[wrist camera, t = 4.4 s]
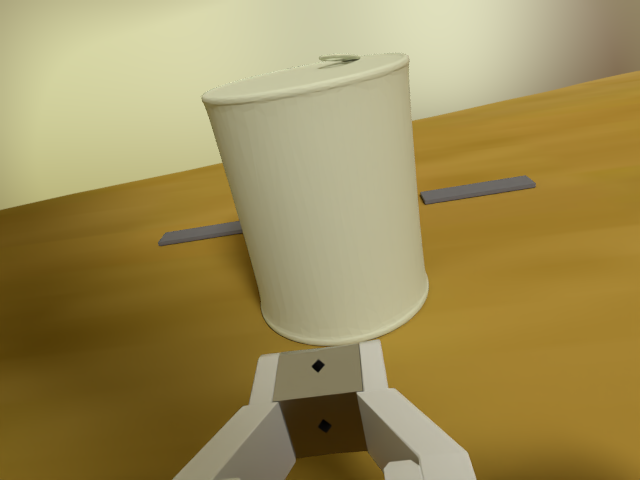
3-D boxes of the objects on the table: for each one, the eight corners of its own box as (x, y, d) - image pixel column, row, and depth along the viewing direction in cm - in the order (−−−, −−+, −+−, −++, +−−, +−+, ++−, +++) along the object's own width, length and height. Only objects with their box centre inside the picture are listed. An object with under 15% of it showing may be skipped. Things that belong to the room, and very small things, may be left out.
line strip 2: (425, 204, 32) (425, 200, 32) (420, 195, 34) (420, 192, 34) (535, 186, 32) (535, 183, 32) (525, 179, 33) (525, 175, 33)
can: (456, 265, 24) (445, 32, 19) (372, 372, 18) (322, 71, 13) (326, 241, 30) (290, 56, 25) (227, 317, 24) (152, 91, 19)
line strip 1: (159, 245, 34) (157, 242, 34) (166, 235, 36) (165, 232, 36) (256, 230, 34) (255, 227, 34) (260, 221, 35) (259, 217, 35)
